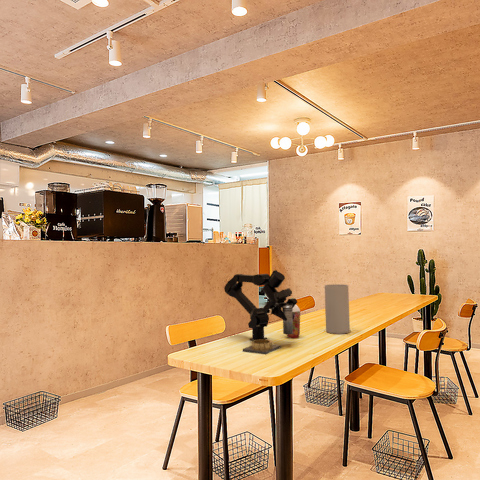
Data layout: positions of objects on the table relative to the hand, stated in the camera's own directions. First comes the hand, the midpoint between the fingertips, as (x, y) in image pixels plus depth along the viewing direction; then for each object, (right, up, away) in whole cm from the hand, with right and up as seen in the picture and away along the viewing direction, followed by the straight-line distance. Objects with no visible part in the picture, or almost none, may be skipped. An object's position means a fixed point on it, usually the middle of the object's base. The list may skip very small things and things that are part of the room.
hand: (289, 319), depth 190 cm
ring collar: (-13, -13, -4) cm, 19 cm away
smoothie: (+4, -13, +21) cm, 25 cm away
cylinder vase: (+30, -13, +30) cm, 44 cm away
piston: (-1, -7, +1) cm, 7 cm away
